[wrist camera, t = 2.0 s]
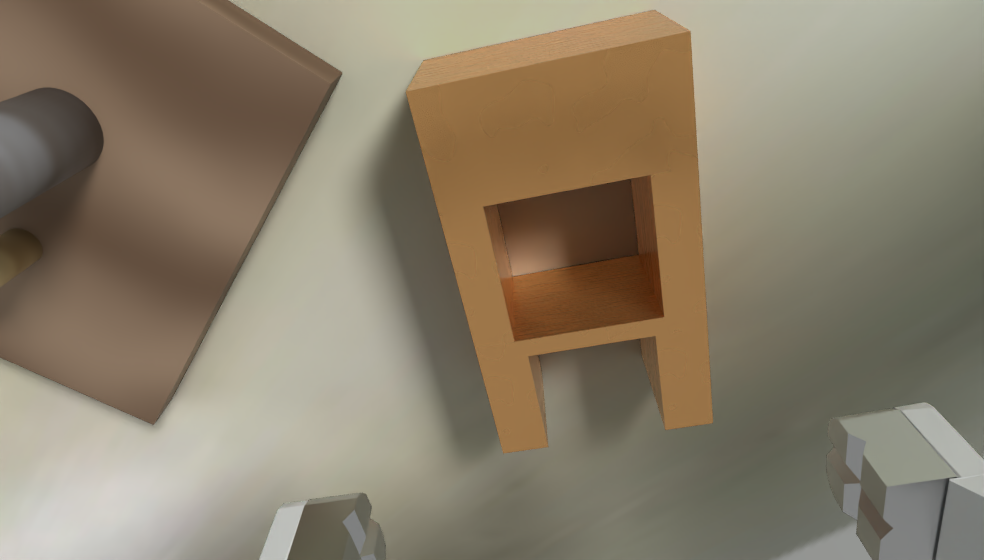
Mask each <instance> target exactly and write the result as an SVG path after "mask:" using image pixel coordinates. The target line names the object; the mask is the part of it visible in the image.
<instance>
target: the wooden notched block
mask: <svg viewBox="0 0 984 560" xmlns="http://www.w3.org/2000/svg"><path fill="white" fill-rule="evenodd" d="M406 95H407V98H408V102H409V106H410V110H411V113H412V117H413V121H414V124H415V128H416V132H417V135H418V139H419V143H420V147H421V150H422V154H423V158H424V161H425V165H426V169H427V172H428V176H429V180H430V184H431V187H432V191H433V195H434V198H435V202H436V206H437V210H438V213H439V217H440V221H441V224H442V228H443V232H444V235H445V239H446V243H447V247H448V250H449V254H450V258H451V261H452V265H453V269H454V272H455V276H456V280H457V284H458V287H459V291H460V295H461V298H462V302H463V306H464V310H465V313H466V317H467V321H468V324H469V328H470V332H471V335H472V339H473V343H474V347H475V350H476V354H477V358H478V361H479V365H480V369H481V372H482V376H483V380H484V384H485V387H486V391H487V395H488V398H489V402H490V406H491V410H492V413H493V417H494V421H495V424H496V428H497V432H498V435H499V439H500V443H501V447H502V450H503V453H510V452H517V451H524V450H530V449H537V448H544V447H548V438H547V426H546V414H545V402H544V391H543V379H542V370H541V365H540V361H539V356H538V355H540V354H546V353H552V352H559V351H565V350H571V349H577V348H583V347H590V346H596V345H602V344H608V343H614V342H621V341H627V340H633V339H639V338H640V343H641V352H642V358H643V361H644V364H645V367H646V370H647V374H648V377H649V380H650V383H651V386H652V389H653V392H654V396H655V399H656V402H657V405H658V408H659V411H660V414H661V418H662V421H663V424H664V427H665V430H669V429H676V428H683V427H690V426H697V425H704V424H711V423H713V414H712V397H711V379H710V362H709V345H708V327H707V310H706V293H705V275H704V258H703V241H702V223H701V206H700V189H699V171H698V154H697V137H696V119H695V102H694V85H693V67H692V50H691V33H690V31H689V30H688V29H686V28H684V27H683V26H681V25H679V24H678V23H676V22H674V21H673V20H671V19H669V18H668V17H666V16H664V15H662V14H661V13H659V12H657V11H656V10H652V11H648V12H643V13H639V14H634V15H630V16H625V17H620V18H616V19H611V20H607V21H602V22H597V23H593V24H588V25H584V26H579V27H574V28H570V29H565V30H561V31H556V32H551V33H547V34H542V35H538V36H533V37H529V38H524V39H519V40H515V41H510V42H506V43H501V44H496V45H492V46H487V47H483V48H478V49H473V50H469V51H464V52H460V53H455V54H450V55H446V56H441V57H437V58H432V59H427V60H423V62H422V64H421V66H420V67H419V69H418V71H417V73H416V74H415V76H414V78H413V80H412V81H411V83H410V85H409V87H408V88H407V90H406ZM626 179H631V188H632V197H633V206H634V215H635V224H636V233H637V242H638V251H639V255H634V256H628V257H622V258H617V259H611V260H605V261H600V262H594V263H588V264H582V265H577V266H571V267H565V268H560V269H554V270H548V271H543V272H537V273H531V274H526V275H520V276H514V277H513V275H512V271H511V266H510V262H509V257H508V253H507V248H506V244H505V239H504V235H503V230H502V226H501V221H500V217H499V212H498V208H497V204H500V203H505V202H510V201H515V200H521V199H526V198H531V197H537V196H542V195H547V194H552V193H558V192H563V191H568V190H574V189H579V188H584V187H589V186H595V185H600V184H605V183H611V182H616V181H621V180H626Z"/></svg>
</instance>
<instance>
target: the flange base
mask: <svg viewBox="0 0 984 560" xmlns="http://www.w3.org/2000/svg"><path fill="white" fill-rule="evenodd" d="M341 75H342V72H341V71H339V70H337V69H336V68H334V67H333V66H331V65H330V64H328V63H326V62H325V61H323V60H322V59H320V58H318V57H317V56H315V55H314V54H312V53H311V52H309V51H307V50H306V49H304V48H303V47H301V46H299V45H298V44H296V43H295V42H293V41H292V40H290V39H288V38H287V37H285V36H284V35H282V34H280V33H279V32H277V31H276V30H274V29H272V28H271V27H269V26H268V25H266V24H265V23H263V22H261V21H260V20H258V19H257V18H255V17H253V16H252V15H250V14H249V13H247V12H246V11H244V10H242V9H241V8H239V7H238V6H236V5H234V4H233V3H231V2H230V1H228V0H0V357H1V358H3V359H5V360H7V361H10V362H12V363H14V364H17V365H19V366H21V367H23V368H26V369H28V370H30V371H32V372H35V373H37V374H39V375H42V376H44V377H46V378H48V379H51V380H53V381H55V382H57V383H60V384H62V385H64V386H67V387H69V388H71V389H73V390H76V391H78V392H80V393H82V394H85V395H87V396H89V397H92V398H94V399H96V400H98V401H101V402H103V403H105V404H107V405H110V406H112V407H114V408H117V409H119V410H121V411H123V412H126V413H128V414H130V415H132V416H135V417H137V418H139V419H142V420H144V421H146V422H148V423H151V424H153V425H154V424H155V422H156V421H157V419H158V418H159V416H160V415H161V414H162V412H163V411H164V409H165V408H166V406H167V405H168V404H169V402H170V401H171V399H172V397H173V395H174V394H175V392H176V390H177V388H178V386H179V384H180V382H181V380H182V378H183V376H184V374H185V373H186V371H187V369H188V367H189V365H190V363H191V361H192V359H193V357H194V355H195V353H196V352H197V350H198V348H199V346H200V344H201V342H202V340H203V338H204V336H205V334H206V332H207V331H208V329H209V327H210V325H211V323H212V321H213V319H214V317H215V315H216V313H217V311H218V310H219V308H220V306H221V304H222V302H223V300H224V298H225V296H226V294H227V292H228V290H229V289H230V287H231V285H232V283H233V281H234V279H235V277H236V275H237V273H238V271H239V269H240V268H241V266H242V264H243V262H244V260H245V258H246V256H247V254H248V252H249V250H250V248H251V247H252V245H253V243H254V241H255V239H256V237H257V235H258V233H259V231H260V229H261V227H262V226H263V224H264V222H265V220H266V218H267V216H268V214H269V212H270V210H271V208H272V207H273V205H274V203H275V201H276V199H277V197H278V195H279V193H280V191H281V189H282V187H283V186H284V184H285V182H286V180H287V178H288V176H289V174H290V172H291V170H292V168H293V166H294V165H295V163H296V161H297V159H298V157H299V155H300V153H301V151H302V149H303V147H304V145H305V144H306V142H307V140H308V138H309V136H310V134H311V132H312V130H313V128H314V126H315V124H316V123H317V121H318V119H319V117H320V115H321V113H322V111H323V109H324V107H325V105H326V103H327V102H328V100H329V98H330V96H331V94H332V92H333V90H334V88H335V86H336V84H337V82H338V81H339V79H340V77H341Z"/></svg>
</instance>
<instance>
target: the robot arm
mask: <svg viewBox="0 0 984 560" xmlns="http://www.w3.org/2000/svg"><path fill="white" fill-rule="evenodd" d="M827 436H828V438H829V439H830V441H831V442H832V444H833V445H834V447H833V449H832V450H831V451H830V452H829V453H828V454H827V456H826V472H827V476H828V480H829V484H830V488H831V490H832V493H833V495H834V497H835V499H836V501H837V503H838V504H839V506H840V508H841V510H842V511H843V512H844V513H846V514H848V515H849V516H851V517H853V518H854V519H856V520H857V531H856V534H857V536H858V537H859V539H860V541H861V542H862V544H863V545H864V547H865V549H866V550H867V552H868V553H869V555H870V557H871V558H872V560H984V459H983V458H982V457H981V456H980V455H979V454H978V453H977V452H976V451H975V450H974V449H973V448H972V447H971V446H970V445H969V443H968V442H967V441H966V440H965V439H964V438H963V437H962V436H961V435H960V434H959V433H958V432H957V431H956V430H955V429H954V428H953V427H952V426H951V425H950V424H949V423H948V421H947V420H946V419H945V418H944V417H943V416H942V415H941V414H940V413H939V412H938V411H937V410H936V409H935V408H934V407H933V406H932V405H930V404H928V403H926V402H923V403H917V404H911V405H905V406H900V407H894V408H892V409H891V408H888V409H882V410H876V411H870V412H864V413H858V414H853V415H847V416H841V417H835V418H831V420H830V422H829V424H828V433H827ZM371 509H372V506H371V504H370V502H369V499H368V497H367V495H366V494H364V493H354V494H347V495H339V496H331V497H324V498H316V499H310V500H306V501H298V502H290V503H283V505H282V506H281V507H280V508H279V509H278V510H277V512H276V515H275V518H274V520H273V523H272V526H271V528H270V531H269V534H268V536H267V539H266V542H265V545H264V547H263V550H262V553H261V555H260V558H259V560H386V545H385V541H384V536H383V533H382V530H381V528H380V525H379V524H378V523H377V522H375V521H374V520H372V519H370V514H371Z"/></svg>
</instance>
